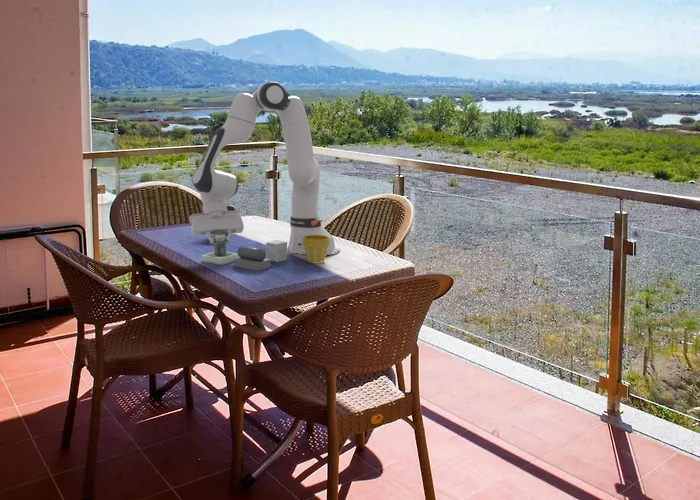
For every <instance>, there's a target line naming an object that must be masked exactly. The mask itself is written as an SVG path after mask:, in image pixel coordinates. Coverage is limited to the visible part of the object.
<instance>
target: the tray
mask: <svg viewBox="0 0 700 500" xmlns="http://www.w3.org/2000/svg"><path fill="white" fill-rule="evenodd" d="M238 257H239V256H238V252H237V253H236V252H230V251H226V256H224V257H216V256H215V251H212V252H209V253H205V254H202V255H201V262H202V263H207V264H212V265H213V264H214V265H219V266H223V265H227V264H230V263H234V259H235V258H238Z"/></svg>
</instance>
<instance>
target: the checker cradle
mask: <svg viewBox="0 0 700 500" xmlns="http://www.w3.org/2000/svg"><path fill="white" fill-rule="evenodd" d="M237 254H238V258H235V259H234V262H233V263H234V265H233V266H234V267H235V268H240V269H241V268H242V269H248V270H253V271H257V270H258V271H259V272H261V271H263V270H266V269H270V268H271V267H272V265H271V262H272V261H271V259H266V250H265V249H263V248H262V249H261V248H257V247H256V248H255V247H250V246H244V245H241V246H239V247H238V249H237Z"/></svg>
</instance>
